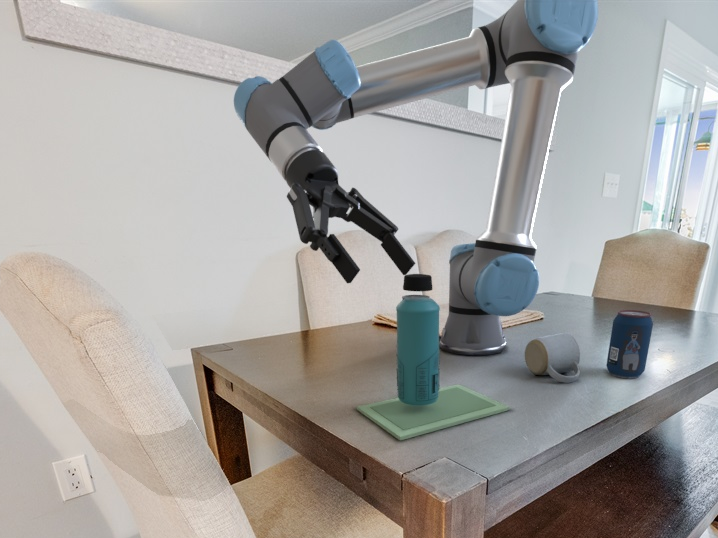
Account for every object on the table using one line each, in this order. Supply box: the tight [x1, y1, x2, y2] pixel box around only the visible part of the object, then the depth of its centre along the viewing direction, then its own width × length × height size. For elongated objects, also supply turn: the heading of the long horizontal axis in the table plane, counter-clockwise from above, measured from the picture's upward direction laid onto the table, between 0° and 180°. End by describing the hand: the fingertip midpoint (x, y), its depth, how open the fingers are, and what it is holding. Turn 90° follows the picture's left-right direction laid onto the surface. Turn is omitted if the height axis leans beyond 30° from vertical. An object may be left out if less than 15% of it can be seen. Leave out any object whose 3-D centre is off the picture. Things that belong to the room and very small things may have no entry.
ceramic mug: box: [524, 331, 581, 384], centre depth 88 cm, size 11×8×8 cm
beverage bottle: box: [395, 273, 441, 406], centre depth 68 cm, size 6×7×20 cm
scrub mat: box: [356, 383, 510, 442], centre depth 72 cm, size 20×13×1 cm, turn 124°
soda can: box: [605, 309, 654, 379], centre depth 88 cm, size 7×7×12 cm
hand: (383, 272), depth 70 cm, fingers open, 13 cm apart
